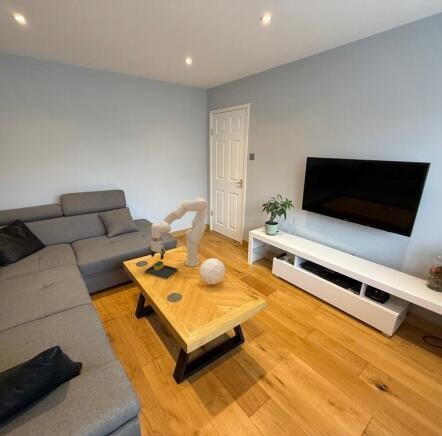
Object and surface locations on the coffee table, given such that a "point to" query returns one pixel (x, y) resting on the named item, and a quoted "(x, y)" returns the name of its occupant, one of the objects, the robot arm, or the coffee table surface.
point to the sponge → (158, 265)
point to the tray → (161, 271)
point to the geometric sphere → (212, 271)
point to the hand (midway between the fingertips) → (157, 257)
